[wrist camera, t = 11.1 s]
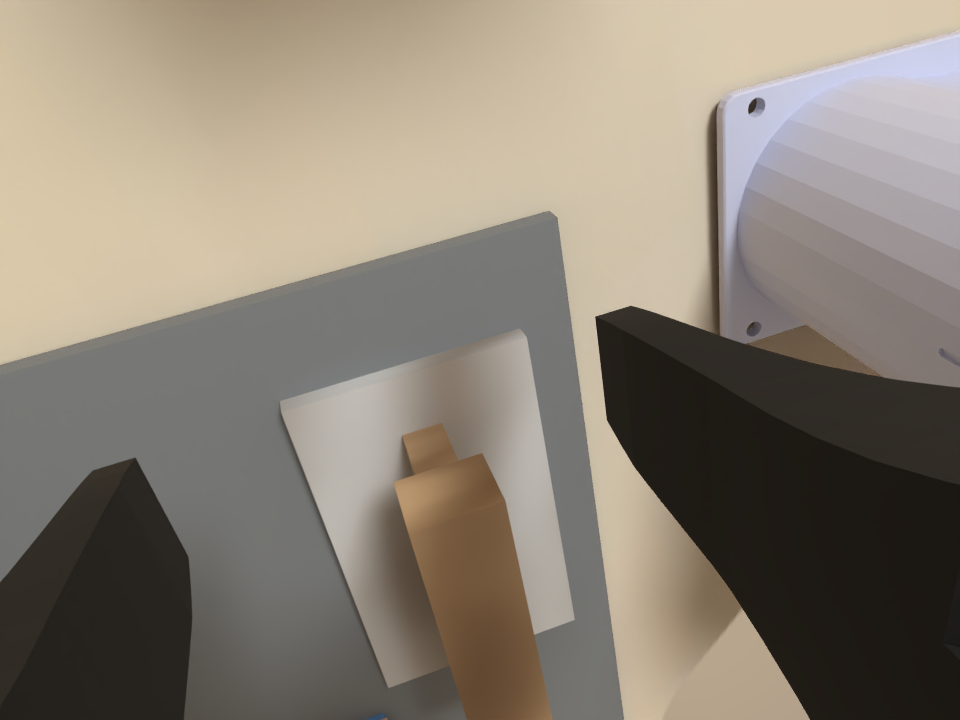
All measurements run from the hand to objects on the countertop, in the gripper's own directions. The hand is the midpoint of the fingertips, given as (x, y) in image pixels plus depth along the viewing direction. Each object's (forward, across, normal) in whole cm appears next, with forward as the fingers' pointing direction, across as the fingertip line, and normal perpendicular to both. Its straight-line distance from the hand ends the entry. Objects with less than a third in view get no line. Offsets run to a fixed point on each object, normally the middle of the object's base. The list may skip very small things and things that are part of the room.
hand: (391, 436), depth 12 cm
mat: (+9, +4, +14) cm, 17 cm away
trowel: (+9, -1, +10) cm, 13 cm away
